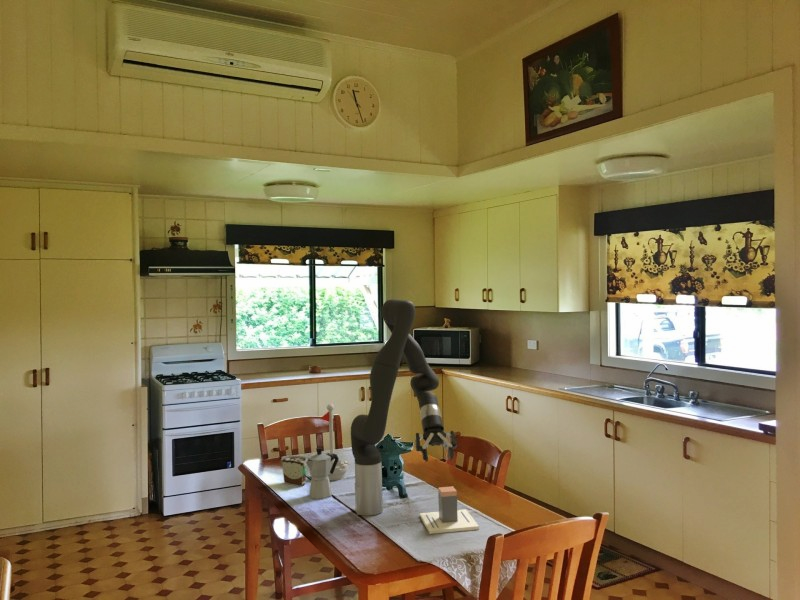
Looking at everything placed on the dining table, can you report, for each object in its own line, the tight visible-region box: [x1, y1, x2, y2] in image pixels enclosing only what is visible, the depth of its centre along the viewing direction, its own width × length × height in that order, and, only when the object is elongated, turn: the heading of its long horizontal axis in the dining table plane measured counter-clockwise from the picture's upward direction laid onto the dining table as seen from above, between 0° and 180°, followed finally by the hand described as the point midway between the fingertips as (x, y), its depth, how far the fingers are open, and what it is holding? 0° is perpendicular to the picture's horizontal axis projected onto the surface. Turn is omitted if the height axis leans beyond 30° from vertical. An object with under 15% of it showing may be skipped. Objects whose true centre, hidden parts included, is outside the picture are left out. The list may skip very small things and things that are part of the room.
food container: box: [280, 455, 308, 487], centre depth 267 cm, size 12×6×10 cm, turn 58°
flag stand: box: [320, 403, 349, 481], centre depth 274 cm, size 13×13×30 cm
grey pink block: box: [437, 486, 458, 523], centre depth 218 cm, size 5×5×10 cm
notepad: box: [419, 508, 480, 535], centre depth 218 cm, size 16×16×1 cm
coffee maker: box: [305, 447, 339, 500], centre depth 250 cm, size 15×9×18 cm, turn 131°
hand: (439, 459), depth 229 cm, fingers open, 8 cm apart
